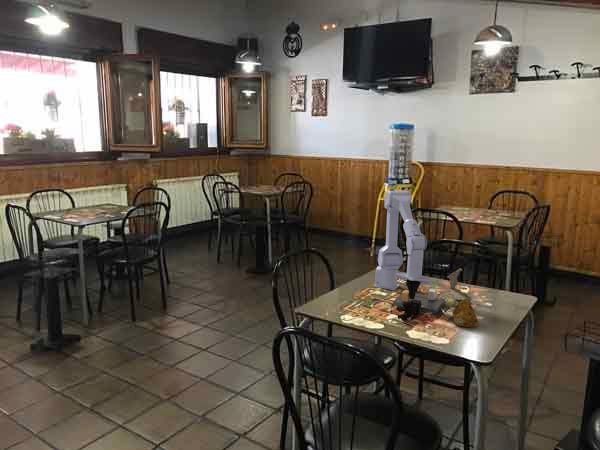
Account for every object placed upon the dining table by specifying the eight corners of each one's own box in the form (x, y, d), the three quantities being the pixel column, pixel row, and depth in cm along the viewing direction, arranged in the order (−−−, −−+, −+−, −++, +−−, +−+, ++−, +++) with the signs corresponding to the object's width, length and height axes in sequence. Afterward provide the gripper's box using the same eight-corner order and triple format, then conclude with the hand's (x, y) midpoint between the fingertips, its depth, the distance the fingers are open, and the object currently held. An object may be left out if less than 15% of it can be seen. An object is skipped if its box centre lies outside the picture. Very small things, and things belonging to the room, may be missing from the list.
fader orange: (401, 300, 190) (401, 292, 190) (404, 298, 194) (404, 289, 193) (407, 302, 189) (407, 293, 188) (410, 299, 193) (410, 290, 192)
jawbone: (463, 303, 210) (472, 299, 195) (446, 306, 210) (454, 302, 195) (456, 272, 213) (465, 266, 199) (439, 275, 214) (447, 269, 199)
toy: (412, 309, 187) (413, 293, 185) (424, 312, 184) (425, 296, 182) (394, 321, 175) (395, 304, 173) (407, 325, 172) (408, 307, 170)
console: (392, 304, 191) (393, 301, 190) (404, 294, 204) (404, 291, 203) (435, 313, 182) (435, 309, 182) (444, 302, 195) (445, 298, 195)
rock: (476, 334, 175) (482, 323, 167) (454, 336, 175) (458, 325, 167) (467, 306, 182) (473, 294, 173) (446, 309, 182) (450, 297, 174)
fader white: (427, 299, 193) (428, 291, 192) (430, 296, 196) (431, 288, 196) (434, 300, 192) (434, 292, 191) (436, 297, 195) (437, 289, 195)
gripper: (393, 265, 187) (391, 297, 190) (430, 271, 180) (427, 305, 183) (399, 261, 194) (397, 293, 196) (435, 266, 186) (432, 299, 189)
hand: (412, 298), depth 190 cm, fingers closed
